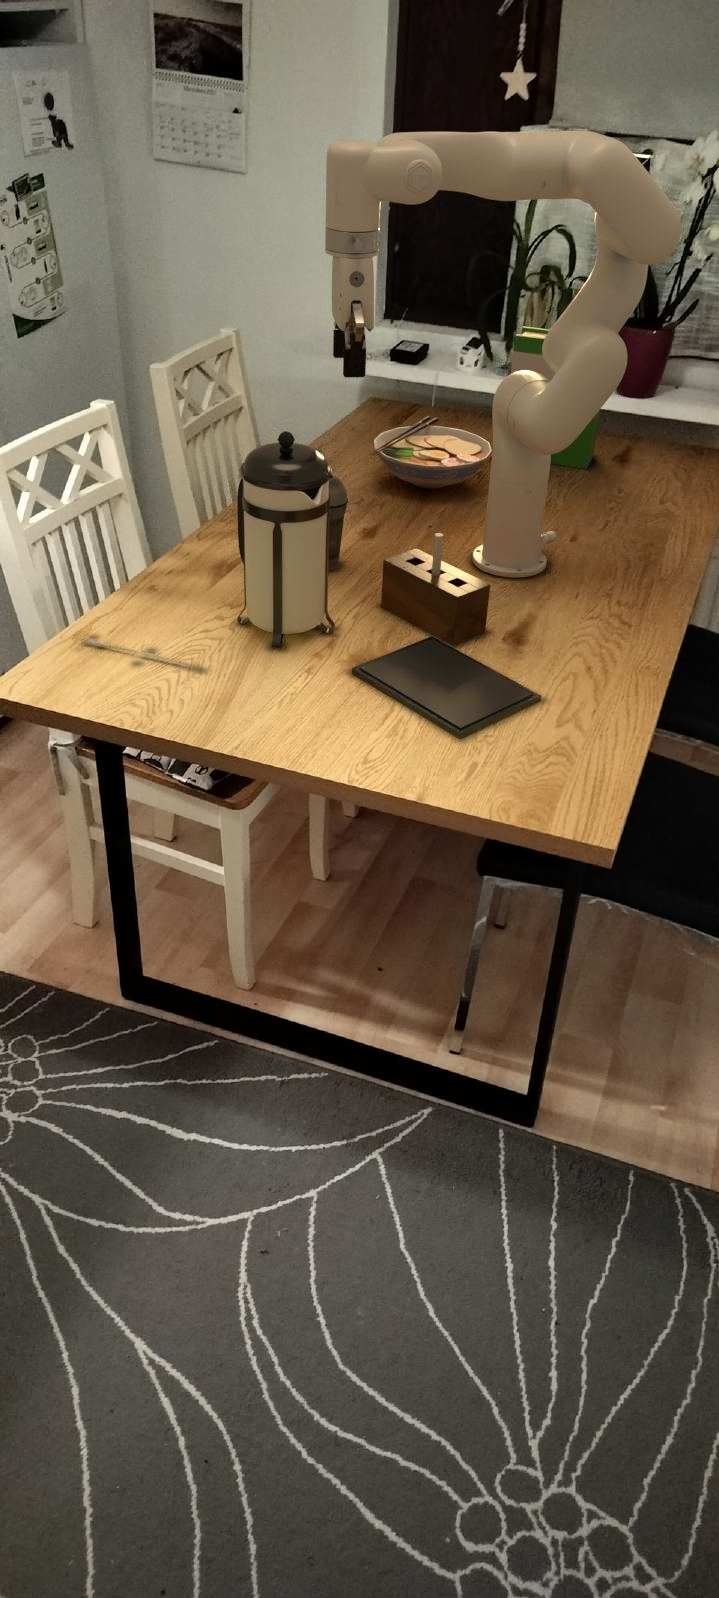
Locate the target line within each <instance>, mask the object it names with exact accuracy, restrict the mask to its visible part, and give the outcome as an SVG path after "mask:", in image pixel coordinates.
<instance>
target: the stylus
mask: <svg viewBox="0 0 719 1598" xmlns="http://www.w3.org/2000/svg"><path fill="white" fill-rule="evenodd" d="M84 643H85V644H87V645H93V646H98V647H103V648H110V649H117V650H121V651H127V652H134V653H139V654H142V655H143V656H145V657H150V658H153V659H157V660H159V661H160V660H161V661H164V662H169V663H172V664H176V665H180V666H184V667H188V668H193V667H191V666H189V665H186V664H183V663H180V662H178V661H174V660H172V659H169V658H166V657H163V656H160V655H157V654H154V653H151V652H149V651H145V650H143V649H140V651H137V650H133V649H130V648H126V647H122V646H119V645H115V644H111V643H108V642H105V641H100V640H96V639H93V638H89V637H88V638H87V640H84Z"/></svg>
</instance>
